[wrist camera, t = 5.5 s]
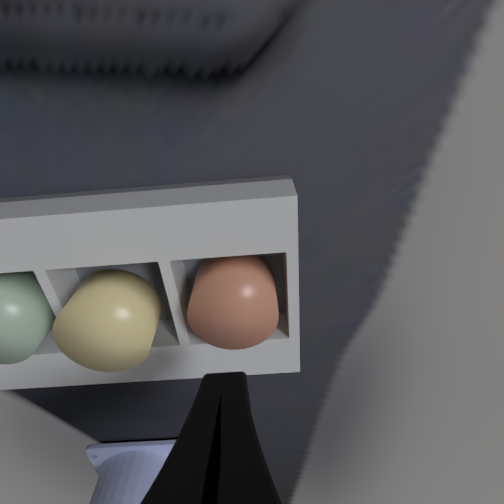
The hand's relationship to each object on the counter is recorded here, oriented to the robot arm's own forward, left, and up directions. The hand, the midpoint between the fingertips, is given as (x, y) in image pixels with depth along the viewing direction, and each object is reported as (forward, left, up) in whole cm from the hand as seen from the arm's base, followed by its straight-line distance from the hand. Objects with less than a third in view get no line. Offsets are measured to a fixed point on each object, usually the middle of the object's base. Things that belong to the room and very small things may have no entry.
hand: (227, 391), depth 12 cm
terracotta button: (0, 0, -6) cm, 6 cm away
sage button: (0, +11, -6) cm, 13 cm away
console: (0, +5, -7) cm, 9 cm away
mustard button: (0, +5, -5) cm, 8 cm away
